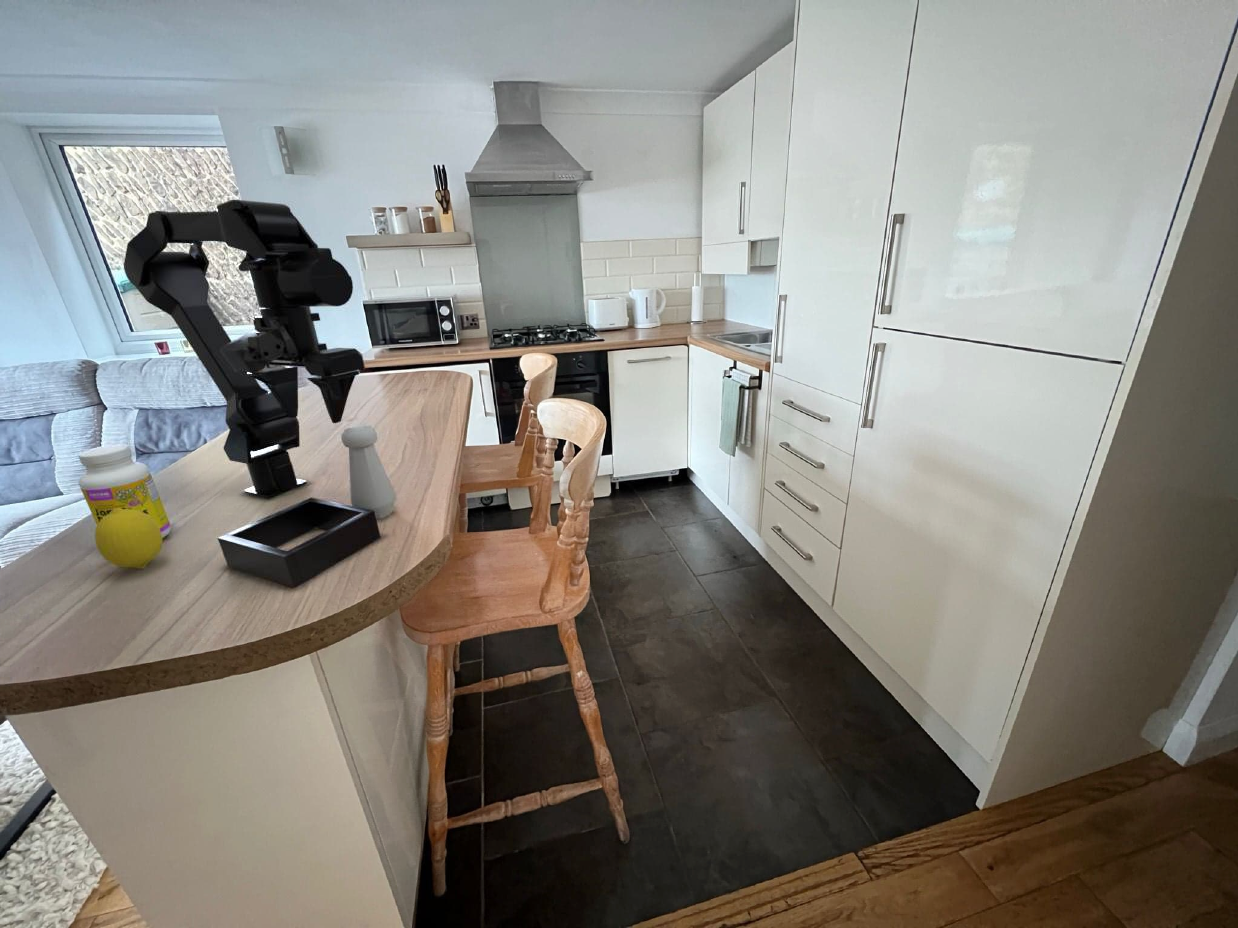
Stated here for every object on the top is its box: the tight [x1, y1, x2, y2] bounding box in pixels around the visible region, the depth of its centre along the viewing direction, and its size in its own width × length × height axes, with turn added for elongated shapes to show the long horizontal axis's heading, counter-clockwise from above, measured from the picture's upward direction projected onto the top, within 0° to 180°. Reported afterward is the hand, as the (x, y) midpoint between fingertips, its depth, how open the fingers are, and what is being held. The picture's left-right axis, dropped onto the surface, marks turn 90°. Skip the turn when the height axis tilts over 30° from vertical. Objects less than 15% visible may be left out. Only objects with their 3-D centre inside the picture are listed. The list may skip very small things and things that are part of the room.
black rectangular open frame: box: [217, 496, 381, 589], centre depth 63 cm, size 12×12×4 cm
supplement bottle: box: [78, 443, 172, 539], centre depth 66 cm, size 7×7×13 cm
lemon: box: [94, 508, 163, 570], centre depth 60 cm, size 6×6×8 cm
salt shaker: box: [340, 424, 397, 520], centre depth 71 cm, size 6×6×13 cm
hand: (314, 419), depth 73 cm, fingers open, 9 cm apart
